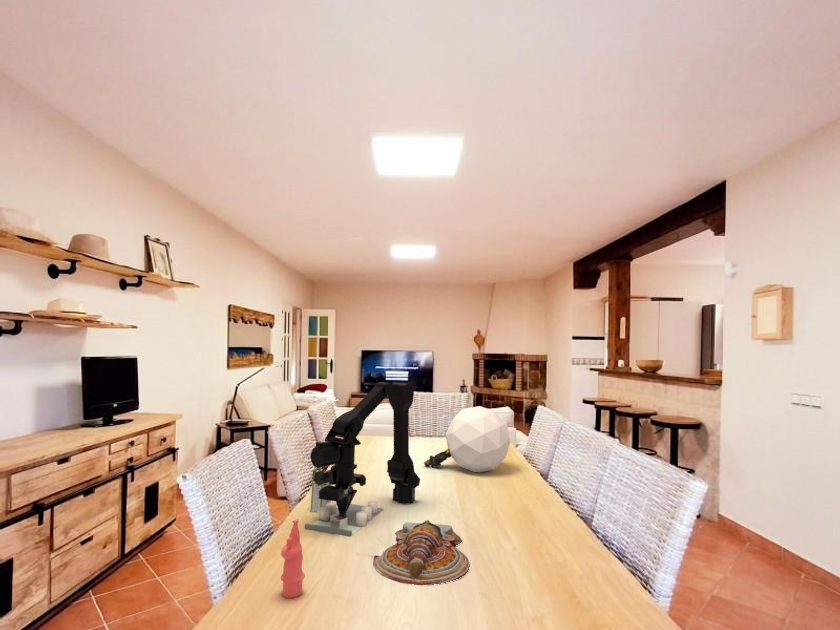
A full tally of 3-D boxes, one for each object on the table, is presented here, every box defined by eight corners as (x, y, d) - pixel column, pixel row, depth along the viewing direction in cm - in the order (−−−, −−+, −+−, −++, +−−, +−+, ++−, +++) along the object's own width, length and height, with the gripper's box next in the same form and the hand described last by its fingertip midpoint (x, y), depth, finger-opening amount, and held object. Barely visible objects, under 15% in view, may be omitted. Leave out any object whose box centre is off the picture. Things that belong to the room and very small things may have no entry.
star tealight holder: (333, 521, 140) (333, 512, 140) (350, 523, 138) (350, 514, 138) (326, 527, 135) (326, 518, 135) (344, 529, 134) (344, 520, 134)
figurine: (281, 586, 103) (285, 514, 104) (306, 586, 104) (309, 514, 105) (276, 599, 98) (280, 523, 99) (302, 598, 99) (305, 523, 100)
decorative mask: (472, 511, 134) (468, 557, 105) (472, 538, 134) (468, 593, 104) (389, 504, 138) (362, 548, 108) (388, 531, 137) (361, 583, 108)
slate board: (384, 512, 152) (384, 504, 152) (350, 540, 129) (350, 531, 129) (344, 506, 156) (344, 499, 156) (304, 532, 133) (304, 524, 134)
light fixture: (522, 456, 189) (488, 391, 198) (433, 501, 193) (403, 436, 202) (524, 453, 215) (493, 396, 224) (445, 493, 218) (418, 435, 227)
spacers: (382, 511, 149) (382, 501, 149) (363, 527, 136) (364, 515, 136) (340, 505, 153) (340, 495, 153) (318, 519, 140) (318, 508, 141)
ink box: (322, 516, 146) (324, 471, 147) (309, 515, 147) (311, 470, 148) (330, 509, 153) (332, 466, 154) (319, 507, 154) (320, 465, 155)
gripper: (335, 452, 152) (333, 503, 151) (302, 466, 135) (300, 523, 134) (367, 456, 149) (365, 508, 148) (338, 470, 131) (336, 529, 130)
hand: (342, 516), depth 140 cm, fingers closed
